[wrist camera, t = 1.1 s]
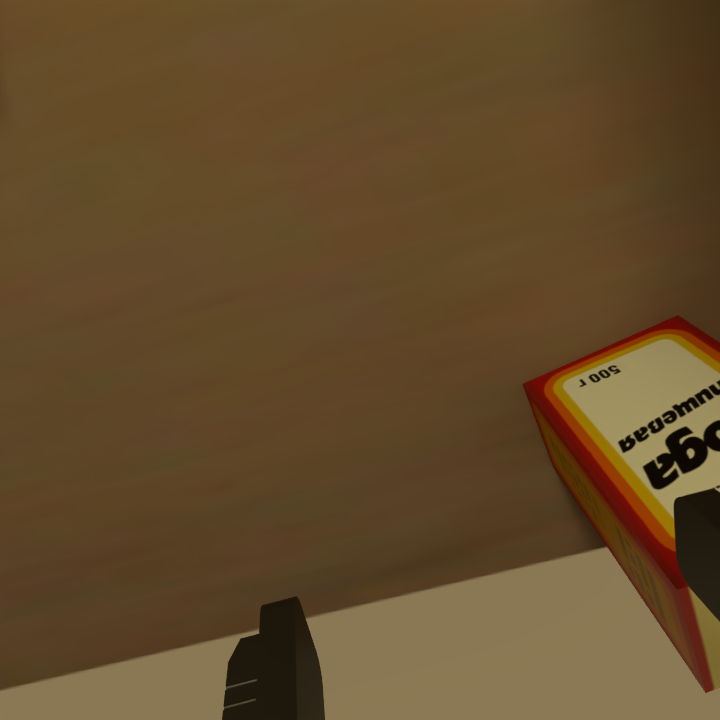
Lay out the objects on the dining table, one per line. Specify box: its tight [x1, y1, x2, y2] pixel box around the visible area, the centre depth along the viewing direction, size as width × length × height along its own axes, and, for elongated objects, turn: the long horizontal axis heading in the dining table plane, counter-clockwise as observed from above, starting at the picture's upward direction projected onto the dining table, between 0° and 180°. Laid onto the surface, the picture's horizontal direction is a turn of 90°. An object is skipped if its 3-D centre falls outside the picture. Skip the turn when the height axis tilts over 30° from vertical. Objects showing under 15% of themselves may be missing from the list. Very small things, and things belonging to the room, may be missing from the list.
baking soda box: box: [523, 316, 720, 693], centre depth 30 cm, size 10×6×16 cm
